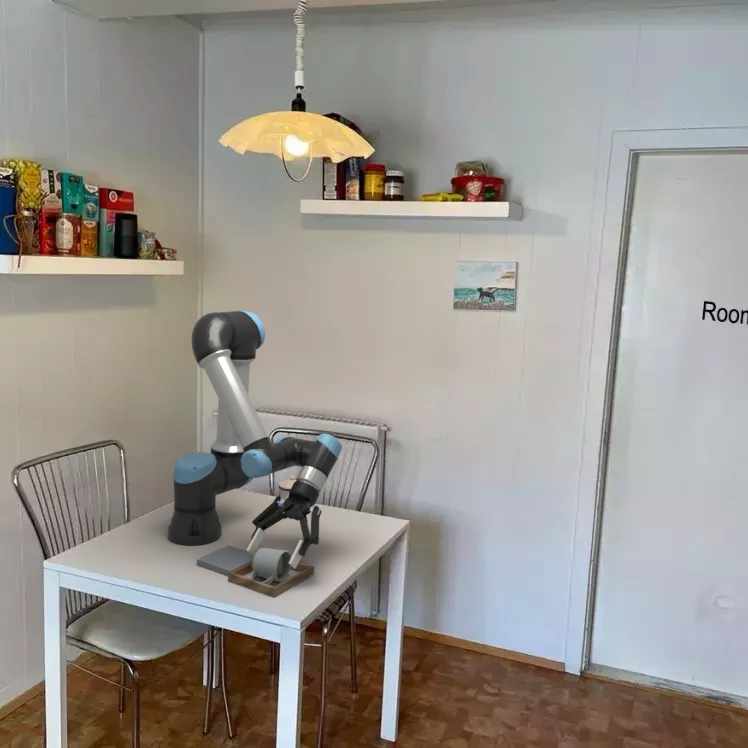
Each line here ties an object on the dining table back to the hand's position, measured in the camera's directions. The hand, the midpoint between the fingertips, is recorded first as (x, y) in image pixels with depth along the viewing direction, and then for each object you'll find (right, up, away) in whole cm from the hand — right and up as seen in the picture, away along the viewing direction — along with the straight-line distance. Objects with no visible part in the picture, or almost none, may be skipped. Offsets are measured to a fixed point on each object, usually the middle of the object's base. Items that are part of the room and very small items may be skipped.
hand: (270, 559), depth 183 cm
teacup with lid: (0, +2, +49) cm, 49 cm away
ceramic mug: (0, -6, +1) cm, 6 cm away
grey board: (-12, -3, +10) cm, 16 cm away
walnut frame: (0, -5, +2) cm, 6 cm away
